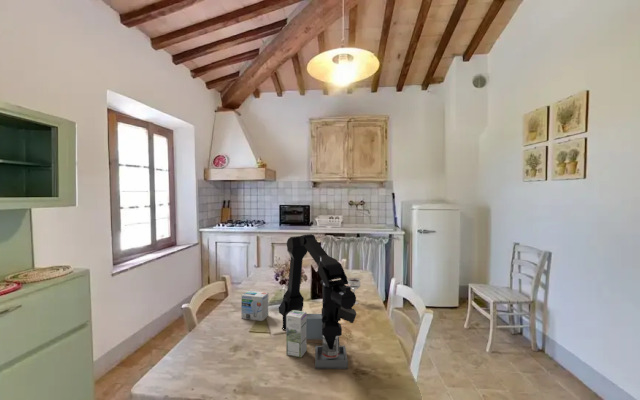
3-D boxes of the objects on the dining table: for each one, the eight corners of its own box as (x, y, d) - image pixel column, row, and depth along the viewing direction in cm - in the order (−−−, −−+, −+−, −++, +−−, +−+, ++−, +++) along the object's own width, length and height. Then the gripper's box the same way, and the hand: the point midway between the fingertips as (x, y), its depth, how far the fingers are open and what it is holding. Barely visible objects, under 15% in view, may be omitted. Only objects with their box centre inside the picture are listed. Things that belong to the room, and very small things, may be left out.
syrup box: (307, 350, 120) (307, 311, 119) (300, 358, 114) (300, 317, 113) (292, 348, 121) (292, 309, 121) (285, 355, 116) (285, 314, 115)
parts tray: (315, 368, 107) (315, 361, 107) (315, 352, 118) (315, 345, 118) (347, 368, 108) (347, 361, 107) (345, 352, 118) (345, 345, 118)
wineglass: (359, 305, 166) (360, 281, 165) (346, 304, 167) (346, 280, 167) (361, 300, 172) (361, 278, 172) (348, 299, 174) (348, 277, 173)
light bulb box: (240, 318, 149) (240, 294, 148) (248, 313, 155) (247, 290, 155) (262, 321, 146) (262, 297, 146) (269, 315, 152) (268, 292, 152)
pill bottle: (329, 349, 117) (329, 321, 117) (342, 354, 113) (342, 325, 113) (319, 355, 112) (319, 326, 112) (332, 361, 109) (332, 331, 109)
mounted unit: (299, 343, 125) (299, 319, 125) (300, 335, 132) (300, 312, 132) (328, 343, 125) (328, 319, 125) (327, 335, 132) (327, 312, 132)
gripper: (358, 309, 103) (357, 359, 103) (352, 290, 121) (351, 332, 122) (322, 309, 103) (321, 359, 103) (321, 290, 121) (321, 332, 122)
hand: (330, 344), depth 113 cm, fingers closed on pill bottle, 6 cm apart
